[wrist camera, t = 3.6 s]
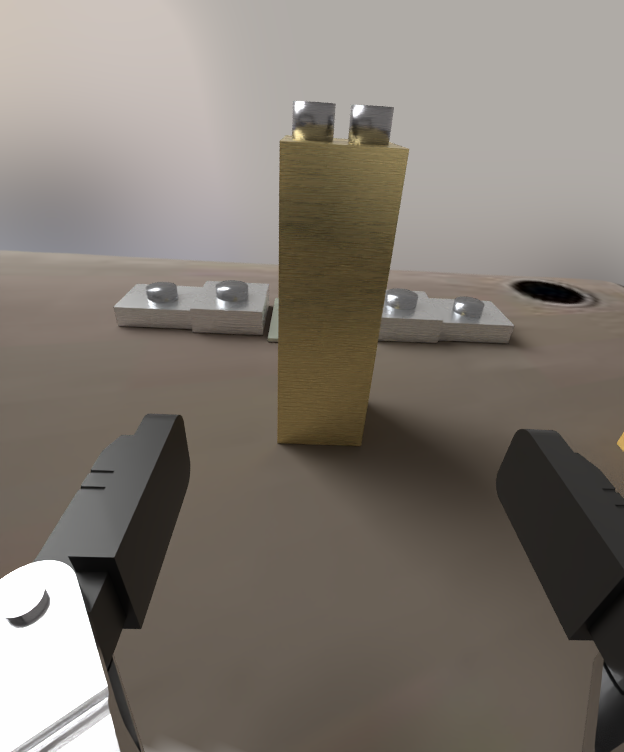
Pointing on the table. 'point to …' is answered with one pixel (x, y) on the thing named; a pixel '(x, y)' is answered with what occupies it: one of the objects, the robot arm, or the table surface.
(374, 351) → the tall studded toy brick
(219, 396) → the table surface
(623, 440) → the yellow handled block
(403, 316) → the studded plate chain
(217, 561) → the table surface
